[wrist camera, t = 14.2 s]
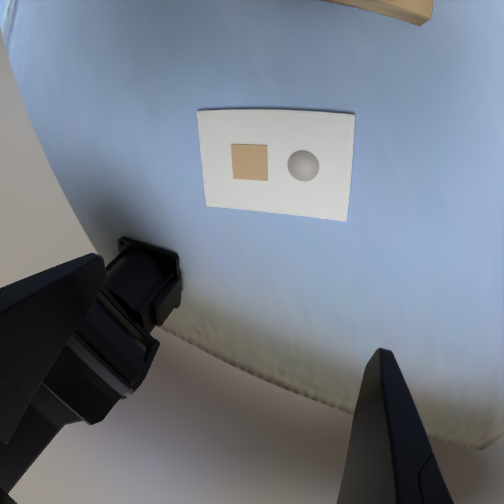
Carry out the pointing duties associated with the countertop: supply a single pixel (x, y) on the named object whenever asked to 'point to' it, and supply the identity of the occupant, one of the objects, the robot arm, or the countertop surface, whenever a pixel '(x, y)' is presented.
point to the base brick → (395, 8)
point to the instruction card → (277, 160)
